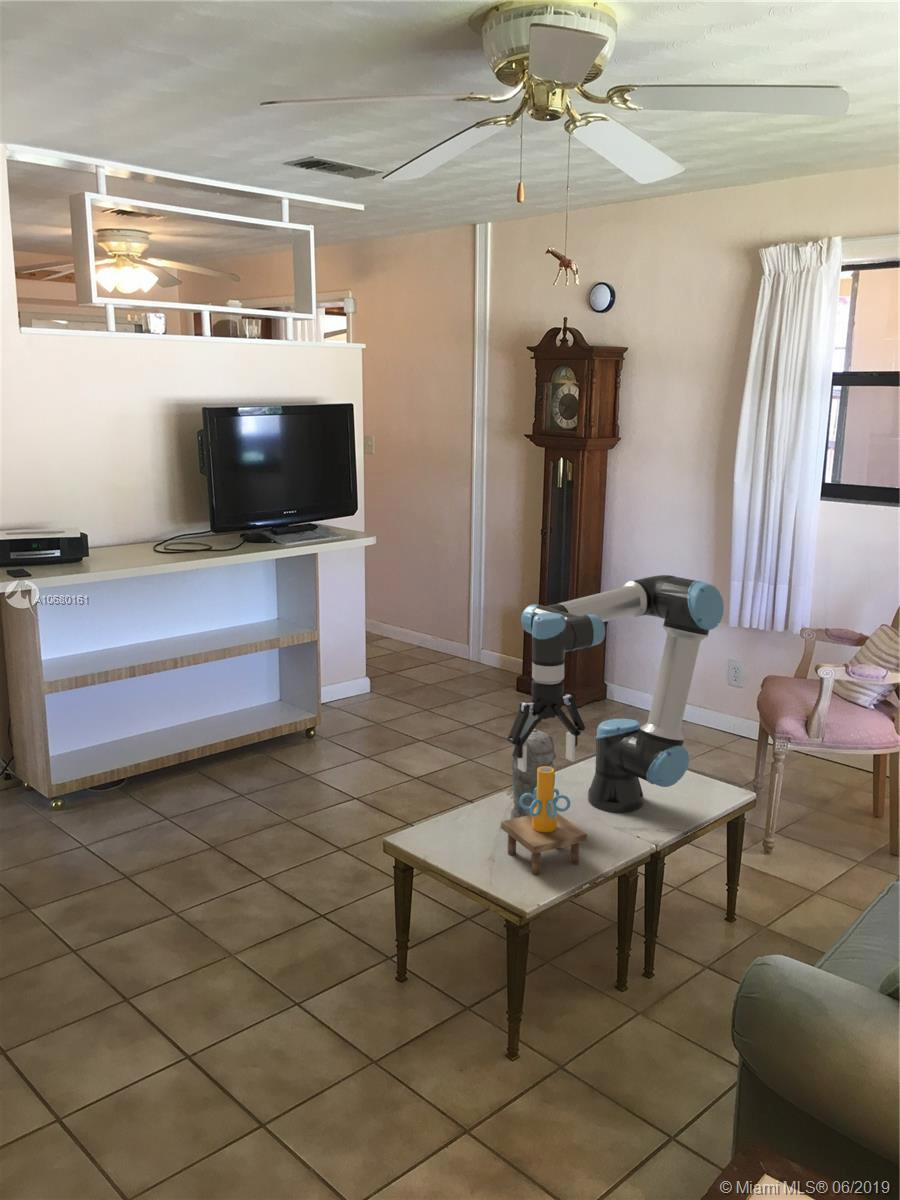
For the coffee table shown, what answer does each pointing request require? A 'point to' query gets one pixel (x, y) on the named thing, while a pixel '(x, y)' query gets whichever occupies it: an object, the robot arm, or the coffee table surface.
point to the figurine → (530, 770)
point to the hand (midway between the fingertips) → (546, 764)
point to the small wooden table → (543, 838)
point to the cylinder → (544, 801)
